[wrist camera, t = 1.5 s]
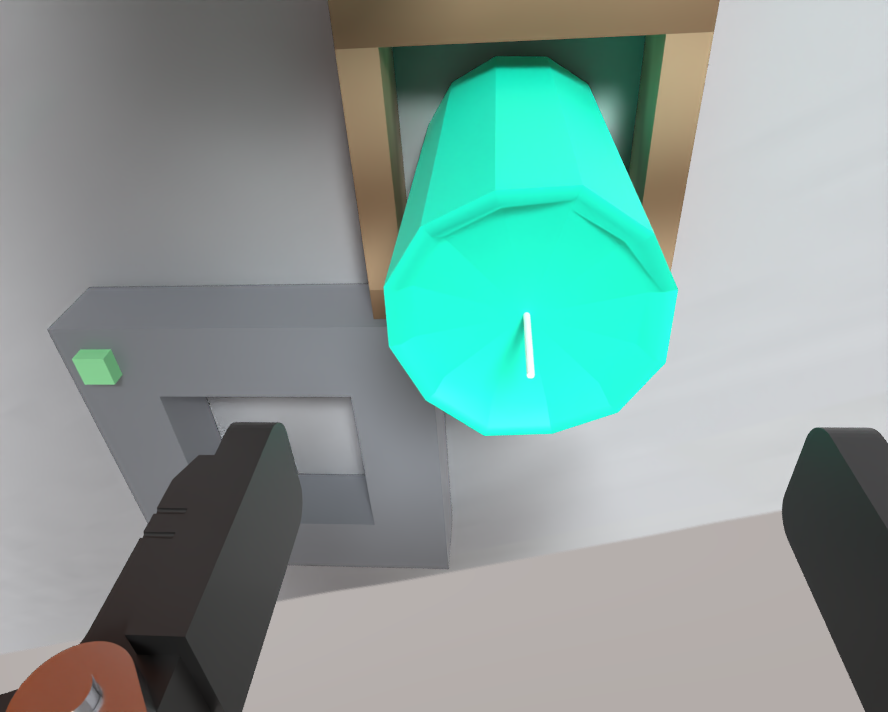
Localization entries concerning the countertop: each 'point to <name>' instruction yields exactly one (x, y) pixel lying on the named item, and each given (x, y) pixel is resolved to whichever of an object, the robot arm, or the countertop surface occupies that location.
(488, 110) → the candle
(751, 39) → the countertop surface
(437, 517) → the frame
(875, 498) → the robot arm
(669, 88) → the holder ring
